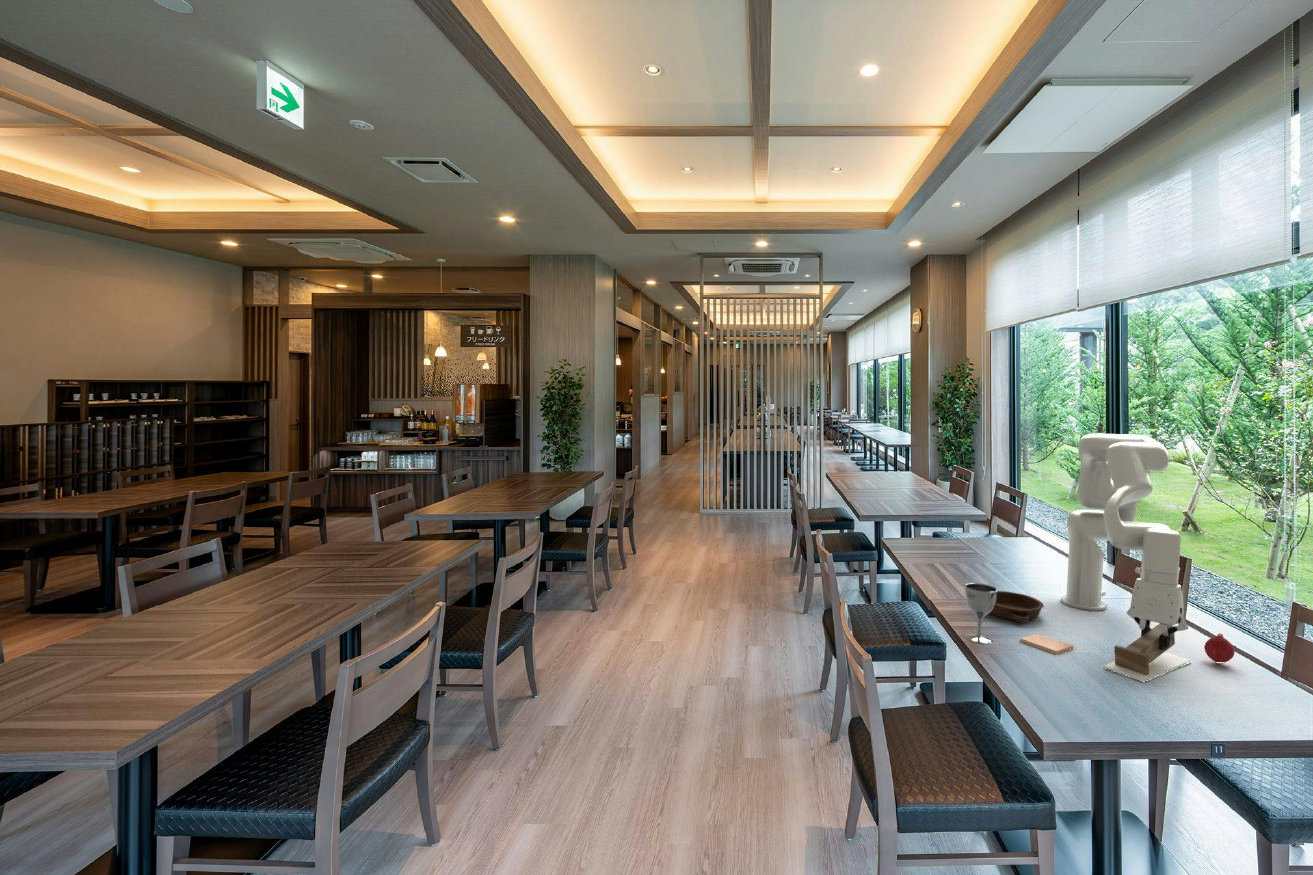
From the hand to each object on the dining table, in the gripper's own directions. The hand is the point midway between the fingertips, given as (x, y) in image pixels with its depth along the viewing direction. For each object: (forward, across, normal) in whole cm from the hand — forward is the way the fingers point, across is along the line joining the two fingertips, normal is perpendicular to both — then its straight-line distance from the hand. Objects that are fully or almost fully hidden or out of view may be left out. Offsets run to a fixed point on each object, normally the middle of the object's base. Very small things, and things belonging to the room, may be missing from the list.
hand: (1154, 645), depth 163 cm
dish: (+5, -40, +3) cm, 41 cm away
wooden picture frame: (+4, -20, -8) cm, 22 cm away
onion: (+5, +8, +15) cm, 18 cm away
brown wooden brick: (+2, 0, -2) cm, 3 cm away
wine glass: (+5, -32, -25) cm, 41 cm away
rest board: (+5, 0, -3) cm, 6 cm away
